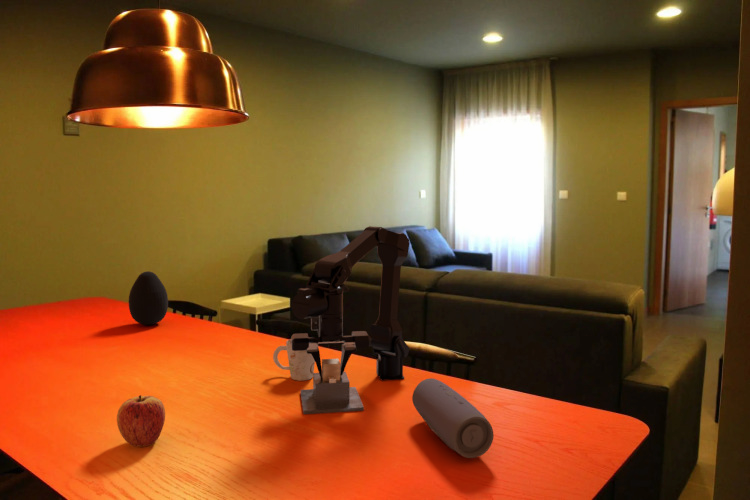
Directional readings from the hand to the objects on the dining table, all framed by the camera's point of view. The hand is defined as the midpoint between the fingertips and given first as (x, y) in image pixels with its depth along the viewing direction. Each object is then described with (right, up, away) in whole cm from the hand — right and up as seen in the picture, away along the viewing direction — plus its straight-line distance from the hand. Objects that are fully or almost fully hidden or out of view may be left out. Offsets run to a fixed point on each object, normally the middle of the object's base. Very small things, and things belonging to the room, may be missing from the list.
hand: (330, 375), depth 142 cm
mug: (-11, -5, +19) cm, 23 cm away
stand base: (0, -7, +1) cm, 6 cm away
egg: (-73, +2, +77) cm, 106 cm away
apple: (-36, -9, -23) cm, 44 cm away
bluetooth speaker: (+26, -9, -20) cm, 34 cm away
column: (0, -5, +1) cm, 5 cm away
